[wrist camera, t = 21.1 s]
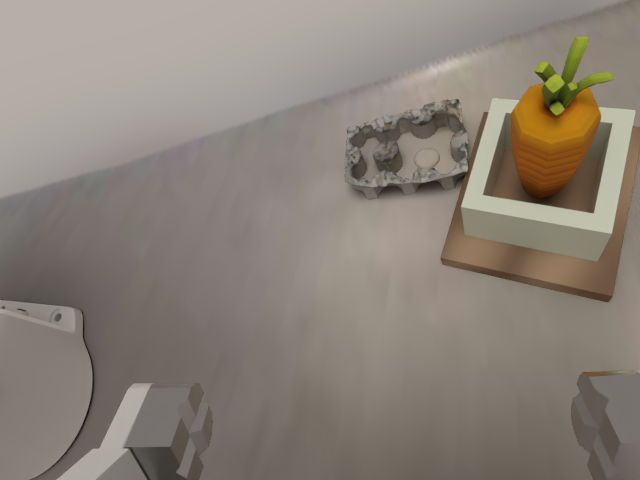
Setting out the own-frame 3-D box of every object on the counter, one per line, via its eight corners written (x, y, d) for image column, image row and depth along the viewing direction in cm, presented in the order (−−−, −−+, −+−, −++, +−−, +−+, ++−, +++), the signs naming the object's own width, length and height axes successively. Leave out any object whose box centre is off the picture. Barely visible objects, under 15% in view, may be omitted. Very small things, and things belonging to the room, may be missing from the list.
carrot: (545, 156, 39) (573, 6, 26) (590, 199, 37) (645, 58, 24) (492, 189, 40) (493, 58, 26) (533, 235, 37) (557, 115, 24)
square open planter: (464, 234, 39) (460, 206, 35) (493, 135, 41) (492, 98, 37) (597, 261, 35) (611, 234, 31) (619, 150, 38) (635, 110, 33)
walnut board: (442, 264, 40) (440, 257, 39) (484, 122, 44) (484, 111, 43) (608, 302, 35) (612, 296, 34) (638, 138, 39) (643, 127, 38)
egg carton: (467, 123, 45) (465, 94, 41) (470, 195, 42) (468, 171, 38) (354, 136, 48) (343, 110, 45) (349, 204, 45) (338, 182, 42)
